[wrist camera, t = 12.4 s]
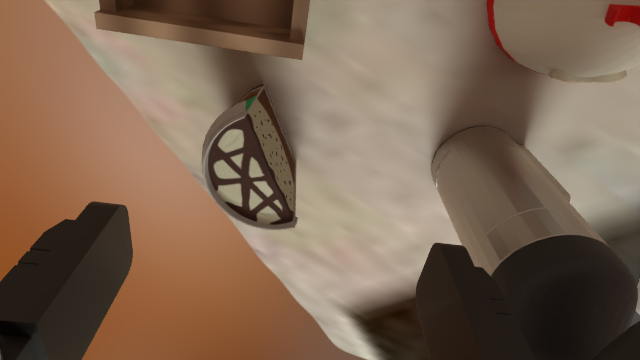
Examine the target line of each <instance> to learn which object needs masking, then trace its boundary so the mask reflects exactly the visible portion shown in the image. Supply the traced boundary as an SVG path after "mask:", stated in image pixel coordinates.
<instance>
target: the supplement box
mask: <svg viewBox="0 0 640 360" xmlns="http://www.w3.org/2000/svg"><path fill="white" fill-rule="evenodd" d="M637 288H638V302H637V307H636V311H637V313H638V314H639V315H640V279H639V282H638V285H637Z"/></svg>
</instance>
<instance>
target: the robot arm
mask: <svg viewBox="0 0 640 360" xmlns="http://www.w3.org/2000/svg"><path fill="white" fill-rule="evenodd" d="M432 177H433V181H434V183H435V185H436V188H437V190H438V192H439V194H440V197H441V199H442V201H443V204H444V206H445V208H446V210H447V212H448V215H449V217H450V219H451V221H452V224H453V226H454V228H455V230H456V232H457V235H458V237H459V239H460V241H461V243H462V246H461V245H452V244H443V243H435V244H434V245H433V246H432V248H431V250H430V252H429V255H428V257H427V260H426V262H425V265H424V268H423V270H422V273H421V275H420V278H419V280H418V283H417V287H416V305H417V309H418V313H419V317H420V321H421V325H422V329H423V332H424V336H425V340H426V344H427V348H428V352H429V356H430V360H640V322H638V323H636V324H634V325H633V326H631V327H630V328H629V326H630V324H631V321H632V318H633V316H634V313H635V310H636V307H637V302H638V288H637V284H636V281H635V278H634V276H633V275H632V273H631V271H630V270H629V268H628V267H627V266H626V265H625V263H624V262H623V261H622V260H621V259H620V258H619V257H618V256H617V255H616V253H615V252H614V251H613V250H612V249H611V248H610V247H609V246H608V245H607V244H606V242H605V241H604V240H603V239H602V238H601V237H600V236H599V235H598V234H597V232H596V231H595V230H594V229H593V228H592V227H591V226H590V225H589V224H588V222H586V221H585V219H584V218H583V217H582V216H581V215H580V214H579V213H578V212H577V211H576V209H575V208H574V207H573V206H572V205H571V204H570V203H569V201H570V195H569V193H568V192H567V191H566V190H565V189H564V188H563V187H562V186H561V184H560V183H559V182H558V181H557V180H556V179H555V178H554V177H553V176H552V175H551V174H550V173H549V172H548V170H547V169H546V168H545V167H544V166H543V165H542V164H541V163H540V162H539V161H538V160H537V159H536V158H535V156H534V155H533V154H532V153H531V152H530V151H529V150H528V149H527V148H526V147H525V146H524V145H519V144H516V143H515V141H514V140H513V139H512V138H511V137H510V136H509V135H508V134H506V133H505V132H504V131H502V130H499V129H497V128H493V127H487V126H482V127H473V128H469V129H465V130H463V131H461V132H458V133H457V134H455V135H453V136H452V137H450V138H449V139H448V140H447V141H446V142H445V143H444V144H442V146H441V147H440V148H439V150H438V151H437V153H436V155H435V157H434V159H433V163H432ZM132 256H133V249H132V241H131V232H130V225H129V217H128V210H127V208H126V206H124V205H119V204H110V203H101V202H91V203H89V204H88V205H87V206H86V208H85V209H84V210H83V211H82V213H81V214H80V215H79V216H78V217H77V219H76V220H68V219H65V220H64V221H62V222H60V223H59V224H57V225H55V226H54V227H52V228H50V229H49V230H47V231H45V232H44V233H43V234H42V236H41V237H40V238H39V239H38V240H37V241H36V242H35V243H34V244H33V246H32V247H31V248H30V251H29V252H26V254H25V255H24V256H23V257H22V258H21V259H20V260H19V261H18V265H15V266H14V267H13V268H12V269H11V270H10V271H9V273H8V274H7V275H6V276H5V277H4V278H3V279H2V281H1V282H0V360H82V358H83V356H84V354H85V352H86V350H87V349H88V346H89V345H90V343H91V341H92V339H93V338H94V336H95V334H96V332H97V330H98V328H99V327H100V324H101V323H102V321H103V319H104V317H105V315H106V314H107V312H108V310H109V308H110V306H111V304H112V302H113V301H114V299H115V297H116V295H117V293H118V291H119V289H120V288H121V286H122V284H123V282H124V280H125V278H126V277H127V275H128V272H129V270H130V267H131V263H132Z"/></svg>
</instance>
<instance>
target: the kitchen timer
mask: <svg viewBox="0 0 640 360" xmlns="http://www.w3.org/2000/svg"><path fill="white" fill-rule="evenodd" d="M487 12H488V22H489V27H490V29H491V32H492V34H493V36H494V39H495V41H496V43H497V45H498V46H499V47H500V48H501V49H502V50H503V51H504V52H505V53H506V54H507V55H508V56H509V57H510V58H511V59H513V60H514V61H515V62H517V63H519V64H521V65H523V66H525V67H527V68H529V69H532V70H534V71H536V72H538V73H542V74H548V75H549V76H550V77H552V78H555V79H559V80H562V81H566V82H589V83H611V82H616V81H620V80H622V79H623V78H625V76H626V71H625V70H627V69H630V68H632V67H635V66H637V65H639V64H640V0H487Z"/></svg>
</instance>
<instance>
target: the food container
mask: <svg viewBox="0 0 640 360" xmlns="http://www.w3.org/2000/svg"><path fill="white" fill-rule="evenodd" d="M202 173H203V177H204V181H205V183H206V186H207V188H208V190H209V192H210V195H211V196H212V198H213V199H214V200H215V202H216V203H217V204H218V205H219V206H220V207H221V209H222V210H224V211H225V212H226V213H227V214H229V215H230V216H231V217H233V218H235V219H236V220H238V221H240V222H242V223H244V224H247V225H249V226H253V227H256V228H261V229H266V230H286V229H292V228H295V226H296V224H297V219H298V218H297V217H295V206H296V161H295V159H294V156H293V154H292V151H291V149H290V146H289V144H288V142H287V139H286V137H285V134H284V132H283V129H282V127H281V124H280V122H279V119H278V117H277V114H276V112H275V110H274V107H273V105H272V102H271V100H270V97H269V95H268V92H267V90H266V87H265V85H264V84H263V85H260V86H258V87H256V88H253V89H252V90H251V91H250V92H249V93H247V94H246V95H245V96H244V97H243V98H242V99H241V100H240V102H239V103H238V104H236V105H234V106H232V107H231V108H229V109H227V110H226V111H225V112H223V113H222V114H221V115H220V116H219V117H218V118H217V119H216V120H215V122H214V123H213V124H212V125H211V127H210V129H209V131H208V133H207V134H206V137H205V140H204V144H203V151H202Z"/></svg>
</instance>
